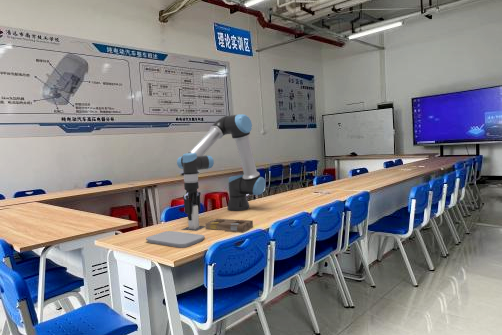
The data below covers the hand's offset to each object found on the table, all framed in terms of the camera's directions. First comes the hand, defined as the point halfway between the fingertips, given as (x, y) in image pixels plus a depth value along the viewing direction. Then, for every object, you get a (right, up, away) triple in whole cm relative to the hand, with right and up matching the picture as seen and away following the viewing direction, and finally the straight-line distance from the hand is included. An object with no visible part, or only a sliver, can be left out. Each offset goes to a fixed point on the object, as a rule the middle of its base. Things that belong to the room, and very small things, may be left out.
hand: (193, 224), depth 190 cm
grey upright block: (0, -2, 0) cm, 2 cm away
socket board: (+19, -1, -3) cm, 20 cm away
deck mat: (0, -2, 0) cm, 2 cm away
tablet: (-5, -4, -23) cm, 24 cm away
